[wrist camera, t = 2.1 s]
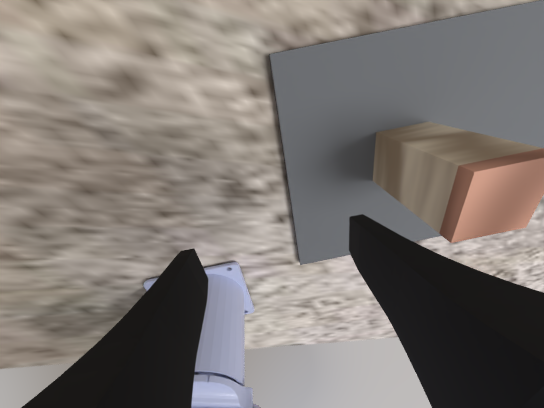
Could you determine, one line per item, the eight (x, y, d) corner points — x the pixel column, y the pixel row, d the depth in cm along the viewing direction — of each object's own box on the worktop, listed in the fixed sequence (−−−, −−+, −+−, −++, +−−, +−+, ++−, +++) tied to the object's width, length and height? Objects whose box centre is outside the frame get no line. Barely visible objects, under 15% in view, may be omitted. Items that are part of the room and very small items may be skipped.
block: (372, 180, 18) (451, 242, 11) (376, 132, 16) (474, 172, 9) (419, 171, 18) (525, 227, 11) (428, 121, 16) (565, 153, 9)
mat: (299, 261, 23) (300, 264, 22) (269, 54, 13) (270, 54, 13) (504, 218, 23) (509, 221, 22) (612, -14, 14) (624, -17, 13)
